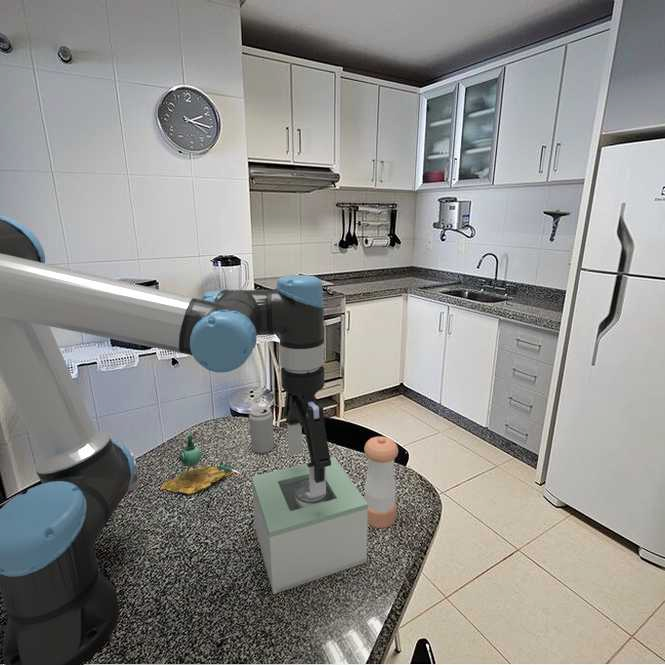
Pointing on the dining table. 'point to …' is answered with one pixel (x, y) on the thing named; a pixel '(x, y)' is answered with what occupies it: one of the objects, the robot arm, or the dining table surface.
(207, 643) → the dining table surface
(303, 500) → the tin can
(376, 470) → the pepper shaker
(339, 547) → the caddy
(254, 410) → the beverage can
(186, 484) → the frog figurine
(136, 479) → the pill bottle
